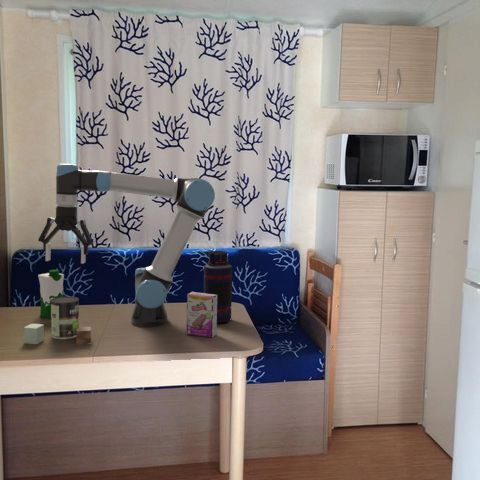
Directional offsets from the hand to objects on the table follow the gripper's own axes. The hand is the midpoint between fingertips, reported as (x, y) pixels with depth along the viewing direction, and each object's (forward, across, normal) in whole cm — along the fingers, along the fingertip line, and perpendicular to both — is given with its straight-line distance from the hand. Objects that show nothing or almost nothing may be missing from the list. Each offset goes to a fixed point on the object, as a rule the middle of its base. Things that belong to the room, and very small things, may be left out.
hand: (65, 261), depth 205 cm
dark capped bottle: (+26, +56, +27) cm, 68 cm away
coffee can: (+29, +1, 0) cm, 29 cm away
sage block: (+29, -8, -9) cm, 31 cm away
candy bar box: (+27, +52, +7) cm, 59 cm away
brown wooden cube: (+28, +10, -7) cm, 31 cm away
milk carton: (+29, -15, +25) cm, 41 cm away
